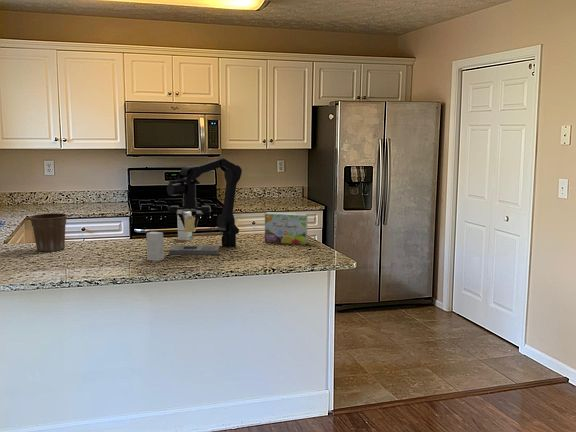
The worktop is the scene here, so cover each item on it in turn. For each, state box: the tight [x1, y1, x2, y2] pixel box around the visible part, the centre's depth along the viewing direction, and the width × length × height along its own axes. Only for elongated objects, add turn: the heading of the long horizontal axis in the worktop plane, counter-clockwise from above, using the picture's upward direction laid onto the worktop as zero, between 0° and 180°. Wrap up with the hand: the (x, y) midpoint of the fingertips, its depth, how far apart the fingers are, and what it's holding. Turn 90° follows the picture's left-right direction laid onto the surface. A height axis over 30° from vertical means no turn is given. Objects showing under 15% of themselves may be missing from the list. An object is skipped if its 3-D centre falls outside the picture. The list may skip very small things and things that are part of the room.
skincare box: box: [146, 231, 165, 262], centre depth 247 cm, size 6×4×12 cm
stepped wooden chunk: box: [184, 215, 197, 233], centre depth 262 cm, size 4×5×7 cm
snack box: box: [264, 211, 308, 246], centre depth 287 cm, size 21×6×15 cm, turn 77°
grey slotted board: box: [168, 244, 221, 256], centre depth 264 cm, size 22×11×2 cm, turn 92°
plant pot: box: [29, 212, 68, 253], centre depth 265 cm, size 16×16×16 cm
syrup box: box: [176, 211, 193, 241], centre depth 293 cm, size 6×6×14 cm
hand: (190, 227), depth 262 cm, fingers closed on stepped wooden chunk, 4 cm apart
